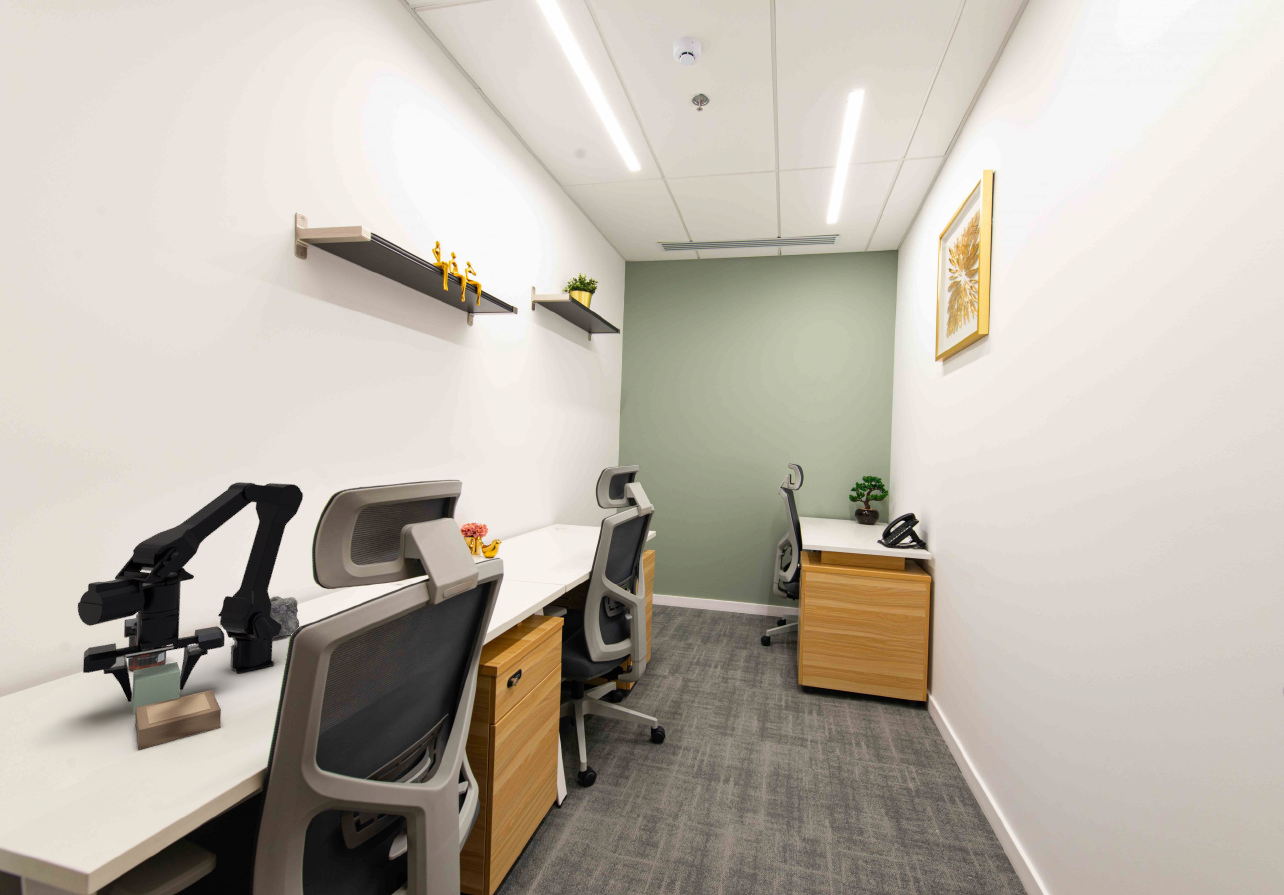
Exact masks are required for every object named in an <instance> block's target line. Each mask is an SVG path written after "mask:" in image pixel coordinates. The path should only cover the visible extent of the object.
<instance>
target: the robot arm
mask: <svg viewBox="0 0 1284 895" xmlns="http://www.w3.org/2000/svg"><path fill="white" fill-rule="evenodd" d="M303 497H304V494H303V492H302V490H301V488H300V487H299V486H298V485H296V484H295V483H293V484H291V483H290V484H289V483H277V482H276V483H275V482H272V483H271V482H269V483H266V484H265V485H262V484H256V483H255V482H241V481H240V482H235V483H231V485H229V487H228V488H227V489H226V490H225V491H223V492H222V493H221V494H219V495H218V496H217V497H216V498H214V499H213V500H211V501H209V503H207V504H205V505H204V506H203V507H202V508H201V509H199V510H198V511H197V512H195V513H194V514H192V515H191V516H190V517H188V518H186V519H185V520H184V521H183V522H182V523H180V524H178V525H176V526H175V527H172V528H168V529H166V530H163V531H161V532H158V533H156V534H154V535H151V536H150V537H148V538H146V539H145V540H142V541H141V542H139V543H138V544H137V545H136V546H135V548H134V549H133V554H132V556H131V557H130V559H129V560H127V562H126V563H125V564H124V565H123V567H122V568H121V569H120V571H119V572H118V573H117V574H116V575H115V577H114V579H113V580H108V581H107V580H106V581H96V582H95V581H94V582H90V583H88V586H87V590H86V591H85V592H84V593H83V594H82V596H81V597H80V600H79V602H77V612H78V616H79V619H80V620H81V621H82V623H83V624H84V625H86V626H88V627H89V626H90V627H91V626H95V625H100V624H104V623H108V622H112V621H116V620H120V619H124V618H128V617H129V618H128V619H124V630H123V637H124V638H129V637H133V636H135V643H137V644H136V646H131V647H129V646H125V647H121V648H117V644H116V643H114V642H113V643H109V644H104V645H98V646H97V645H96V646H91V647H88V648H87V649H86V650H84V651H83V664H82V665H83V666H82V669H83V670H82V673H83V674H89V673H94V672H99V671H100V672H101V671H103V674H104V675H108V674H110V675H111V674H112V675H113V677H114V678H115V680H116V681H117V682H118V683H119V685H120V687H121V689H122V691H123V693H124V695H125V697H126V700H127V702H128V703H132V693H133V691H132V685H131V679H130V675H129V668H128V660H127V659H128V658H131V657H137V656H142V655H148V654H153V653H158V652H164V651H166V652H168V651H169V652H170V651H174V650H180V649H183V658H182V665H181V670H180V691H183V690H184V688H185V686H186V684H187V681H189V680H188V679H189V677H190V675H191V674H192V671H193V669H194V668H195V666H196V665H197V663H198V662H199V660H200V658H201V657H202V656H205V655H208V654H209V650H215V649H219V648H223V647H225V633H224V631H223V630H225V632H226V635H227V638H229V639H230V638H232V639H233V638H235V641H234V644H233V645H231V646H230V667H231V668H232V669H233V670H234V671H235V673H236V674H241V673H245V672H249V671H254V670H259V669H263V668H268V667H272V666H274V665H275V662H274V661H273V639H274V638H276V637H275V636H277V637H279V636H278V635H279V633H280V630H281V627H282V626H281V624H279V623H278V622H277V621H275V620H274V619H273V618H272V617H270V613H271V601H270V599H271V598H270V595H269V592H268V591H269V587H270V583H271V579H272V576H273V572H274V568H275V565H276V562H277V558H278V554H279V551H280V546H281V543H282V540H283V536H284V533H285V529H286V527H287V524H289V522H290V521H291V520H292V519H293V518H294V517H295V516H296V515H297V513H298V511H299V509H300V506H301V504H302V502H303ZM250 503H256V504H255V511H256V515H257V519H258V525H257V530H256V532H255V536H254V539H253V543H252V547H251V548H250V553H249V556H248V560H247V563H246V567H245V570H244V573H243V577H242V581H241V584H240V586H239V589H238V590H237V591H236V592H235V593H234V594H233V596H228V595H227V596H225V597H224V599H223V603H222V607H221V609H220V612H219V614H217V616H218V617H220V620H219V623H220V626H221V627H222V628H220V627H219V626H217V625H216V626H211V627H203V628H198V629H195V630H194V633H193V634H194V635H190V636H189V635H188V636H183V637H179V636H180V635H179V633H180V614H181V613H180V611H181V609H180V608H181V582H184V581H190V580H193V579H195V575H194V574H192V573H190V572H189V571H187V570H186V569H185V568H184V567H185V566H186V564H188V563H189V561H190V560H191V559H192V558H193V557H194V556H195V555H196V554H197V552H198V549H199V547H200V545H201V543H203V542H204V540H205V539H207V538H208V537H209V536H210V535H212V534H213V533H214V532H215V531H217V530H218V529H219V528H221V527H222V526H223V525H225V523H227V522H228V521H229V520H230V519H232V518H233V517H235V515H237V514H238V513H239V512H241V511H242V510H243V509H245V508H246V507H247V506H248V505H249V504H250ZM137 614H138V616H137V618H136V617H134V618H130V617H132V616H136V615H137ZM222 629H223V630H222ZM166 645H167V646H166ZM162 646H164V647H162ZM150 648H153V649H150ZM144 649H147V650H144Z"/></svg>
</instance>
